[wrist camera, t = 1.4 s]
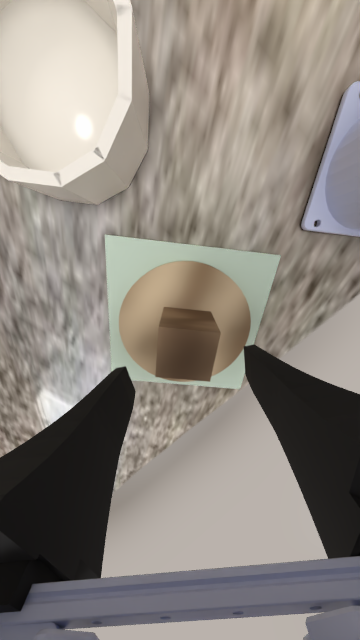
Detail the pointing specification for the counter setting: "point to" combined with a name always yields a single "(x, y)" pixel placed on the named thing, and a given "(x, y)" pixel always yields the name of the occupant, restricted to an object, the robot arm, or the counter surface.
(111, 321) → the sage mat
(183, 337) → the oak lid
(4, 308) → the counter surface
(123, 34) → the cream bowl
